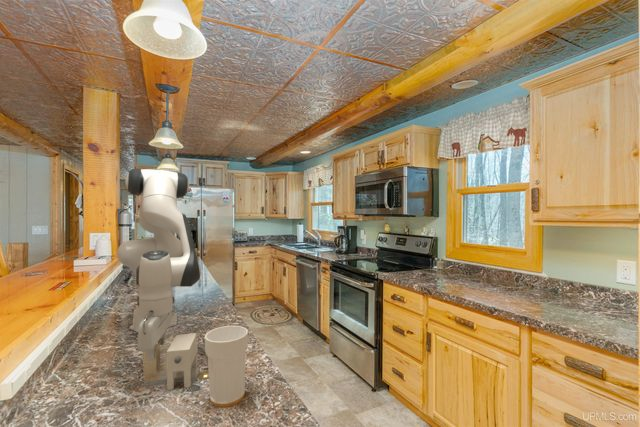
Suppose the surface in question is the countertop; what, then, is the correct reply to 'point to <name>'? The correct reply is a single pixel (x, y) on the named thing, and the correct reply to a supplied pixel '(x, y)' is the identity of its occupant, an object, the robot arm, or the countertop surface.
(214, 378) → the cup
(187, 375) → the notched cream block
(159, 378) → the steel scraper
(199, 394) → the countertop surface
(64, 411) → the countertop surface
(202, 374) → the brass token
